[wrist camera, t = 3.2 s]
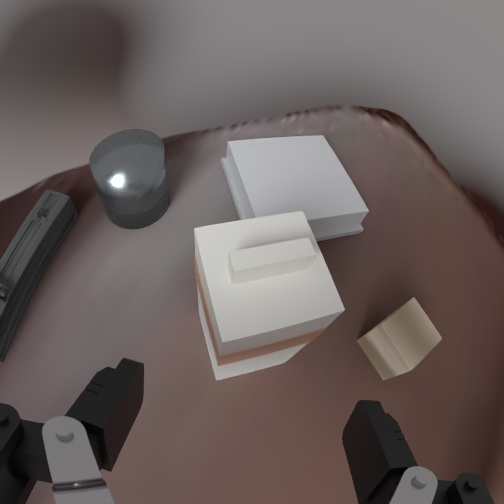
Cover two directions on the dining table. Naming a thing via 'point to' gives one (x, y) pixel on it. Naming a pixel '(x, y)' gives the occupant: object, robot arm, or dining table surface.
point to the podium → (294, 183)
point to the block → (400, 340)
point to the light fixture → (30, 258)
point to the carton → (261, 291)
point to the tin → (131, 177)
